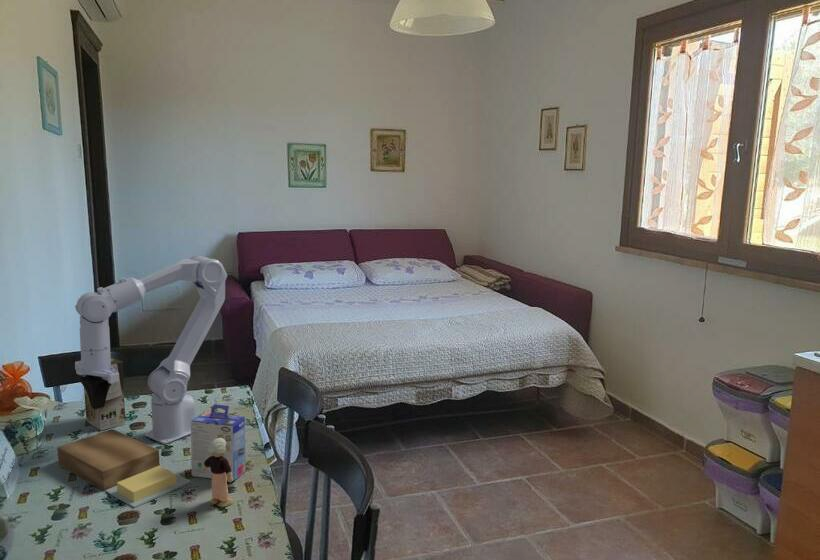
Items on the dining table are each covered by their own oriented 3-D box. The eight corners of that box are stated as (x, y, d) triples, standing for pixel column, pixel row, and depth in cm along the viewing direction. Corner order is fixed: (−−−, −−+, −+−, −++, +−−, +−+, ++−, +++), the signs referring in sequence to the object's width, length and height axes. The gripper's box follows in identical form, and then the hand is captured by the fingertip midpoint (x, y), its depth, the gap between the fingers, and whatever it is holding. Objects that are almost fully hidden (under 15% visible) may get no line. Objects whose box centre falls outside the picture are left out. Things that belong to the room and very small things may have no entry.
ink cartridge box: (247, 470, 127) (246, 405, 125) (234, 482, 121) (233, 415, 119) (205, 464, 129) (202, 400, 126) (190, 477, 123) (188, 410, 121)
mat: (161, 468, 127) (161, 467, 127) (190, 482, 121) (190, 481, 121) (105, 491, 117) (105, 490, 117) (134, 508, 111) (134, 506, 111)
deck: (113, 445, 137) (112, 428, 136) (159, 467, 127) (158, 450, 126) (58, 464, 127) (57, 447, 126) (104, 490, 117) (102, 471, 116)
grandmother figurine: (242, 500, 115) (241, 437, 113) (230, 510, 111) (228, 446, 109) (209, 492, 117) (207, 431, 115) (196, 502, 114) (194, 439, 112)
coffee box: (127, 424, 149) (123, 361, 146) (100, 431, 144) (95, 367, 142) (111, 414, 155) (108, 354, 152) (85, 421, 150) (81, 359, 148)
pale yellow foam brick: (176, 474, 120) (177, 483, 120) (159, 465, 123) (159, 474, 123) (133, 492, 112) (134, 502, 113) (116, 482, 116) (117, 492, 116)
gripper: (59, 345, 131) (62, 404, 133) (94, 357, 123) (97, 420, 125) (92, 339, 136) (94, 396, 138) (127, 350, 128) (129, 411, 130)
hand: (98, 407), depth 132 cm, fingers closed
